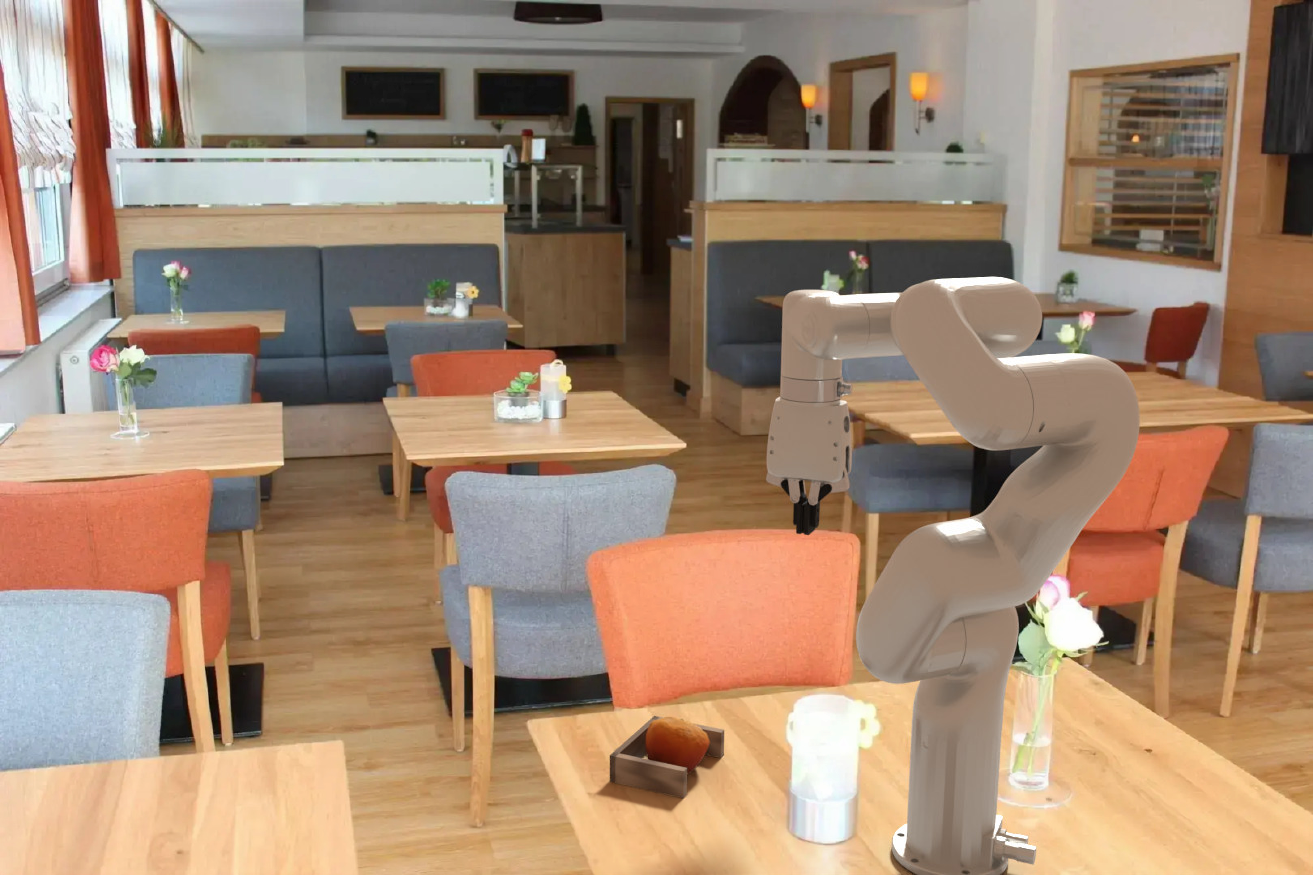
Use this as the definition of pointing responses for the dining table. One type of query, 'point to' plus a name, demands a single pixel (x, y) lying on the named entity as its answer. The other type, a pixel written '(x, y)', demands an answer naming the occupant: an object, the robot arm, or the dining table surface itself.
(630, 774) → the u-shaped wall frame
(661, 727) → the fruit
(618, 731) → the dining table surface
